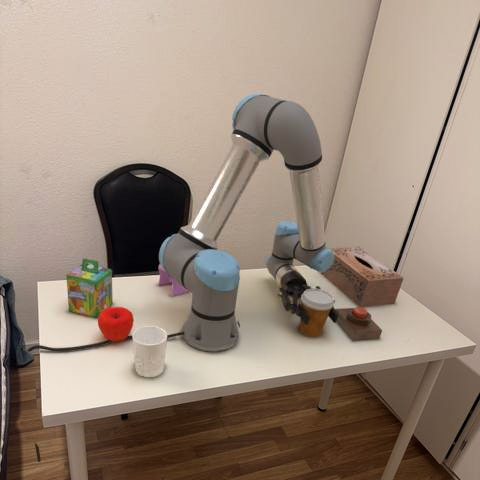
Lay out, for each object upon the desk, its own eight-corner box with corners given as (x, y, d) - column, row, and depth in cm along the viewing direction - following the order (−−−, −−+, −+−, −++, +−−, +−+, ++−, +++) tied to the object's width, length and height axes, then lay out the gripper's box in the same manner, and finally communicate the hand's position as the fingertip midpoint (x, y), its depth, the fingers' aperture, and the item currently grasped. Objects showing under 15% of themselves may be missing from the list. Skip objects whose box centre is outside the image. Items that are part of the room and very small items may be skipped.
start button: (356, 319, 129) (358, 314, 128) (350, 312, 132) (351, 307, 131) (368, 318, 130) (370, 313, 129) (361, 311, 134) (363, 306, 133)
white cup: (171, 363, 109) (172, 330, 103) (157, 382, 102) (158, 348, 97) (142, 355, 110) (142, 322, 105) (127, 374, 103) (126, 339, 98)
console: (352, 341, 127) (357, 326, 125) (332, 317, 138) (336, 303, 135) (379, 339, 130) (384, 325, 127) (357, 315, 140) (361, 302, 138)
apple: (112, 352, 110) (111, 326, 106) (91, 336, 114) (89, 311, 110) (140, 339, 116) (140, 314, 112) (120, 325, 120) (119, 300, 116)
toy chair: (176, 279, 147) (178, 237, 139) (190, 291, 141) (193, 248, 133) (154, 285, 142) (155, 241, 134) (168, 297, 136) (170, 252, 128)
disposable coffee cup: (324, 325, 133) (333, 290, 127) (327, 342, 125) (336, 306, 119) (294, 320, 133) (301, 285, 127) (294, 337, 125) (302, 301, 119)
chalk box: (68, 311, 123) (63, 264, 115) (85, 297, 130) (81, 251, 123) (98, 319, 121) (95, 271, 114) (114, 303, 129) (112, 258, 121)
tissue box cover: (394, 303, 151) (403, 277, 145) (360, 307, 145) (368, 280, 140) (352, 270, 170) (359, 246, 165) (321, 272, 165) (326, 248, 160)
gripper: (318, 290, 145) (351, 328, 127) (258, 293, 139) (285, 333, 120) (323, 270, 141) (358, 306, 123) (262, 271, 135) (289, 309, 117)
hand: (322, 319), depth 122 cm, fingers closed on disposable coffee cup, 8 cm apart
